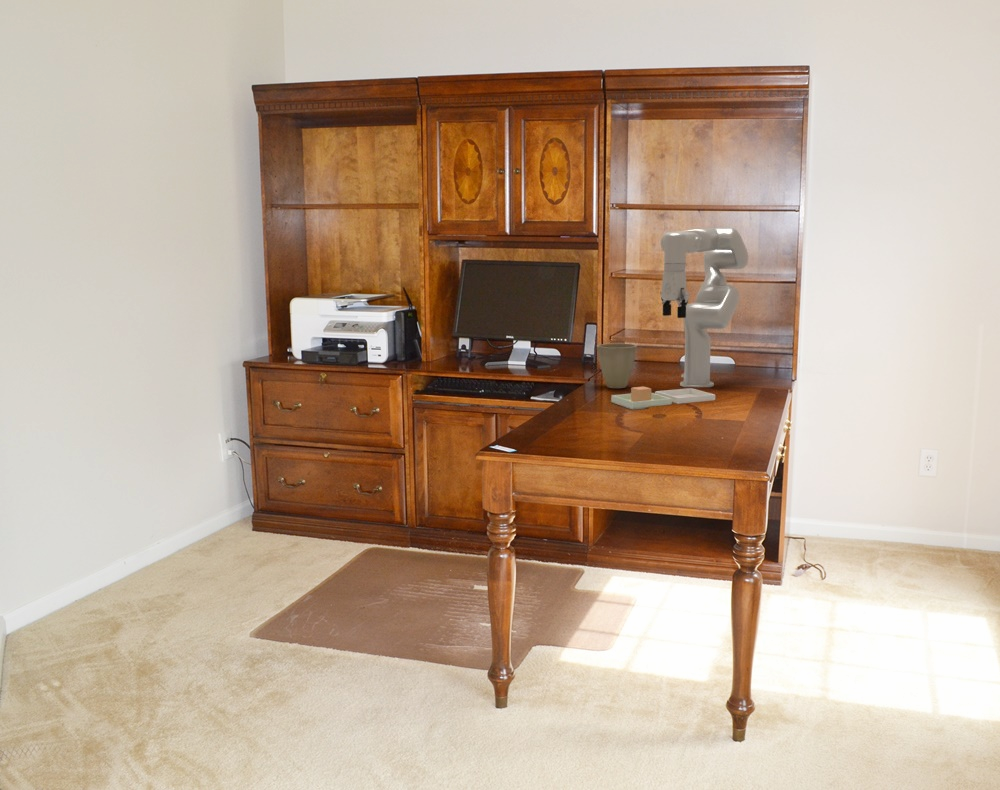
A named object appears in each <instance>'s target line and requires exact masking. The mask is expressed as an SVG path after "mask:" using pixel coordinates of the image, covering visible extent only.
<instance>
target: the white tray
mask: <svg viewBox="0 0 1000 790" xmlns="http://www.w3.org/2000/svg"><path fill="white" fill-rule="evenodd" d="M654 394H657V395H661V396H664V397H667V398H671V399H672V403H674V404H678V405H679V404H681V405H682V404H689V403H701V402H702V403H703V402H711V401H716V394H715V393H714V394H713V393H712V392H706V391H703V390H699V389H696V388H694V387H686V388H679V389H676V388H675V389H668V390H666V389H665V390H656V391H655V392H654Z"/></svg>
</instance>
